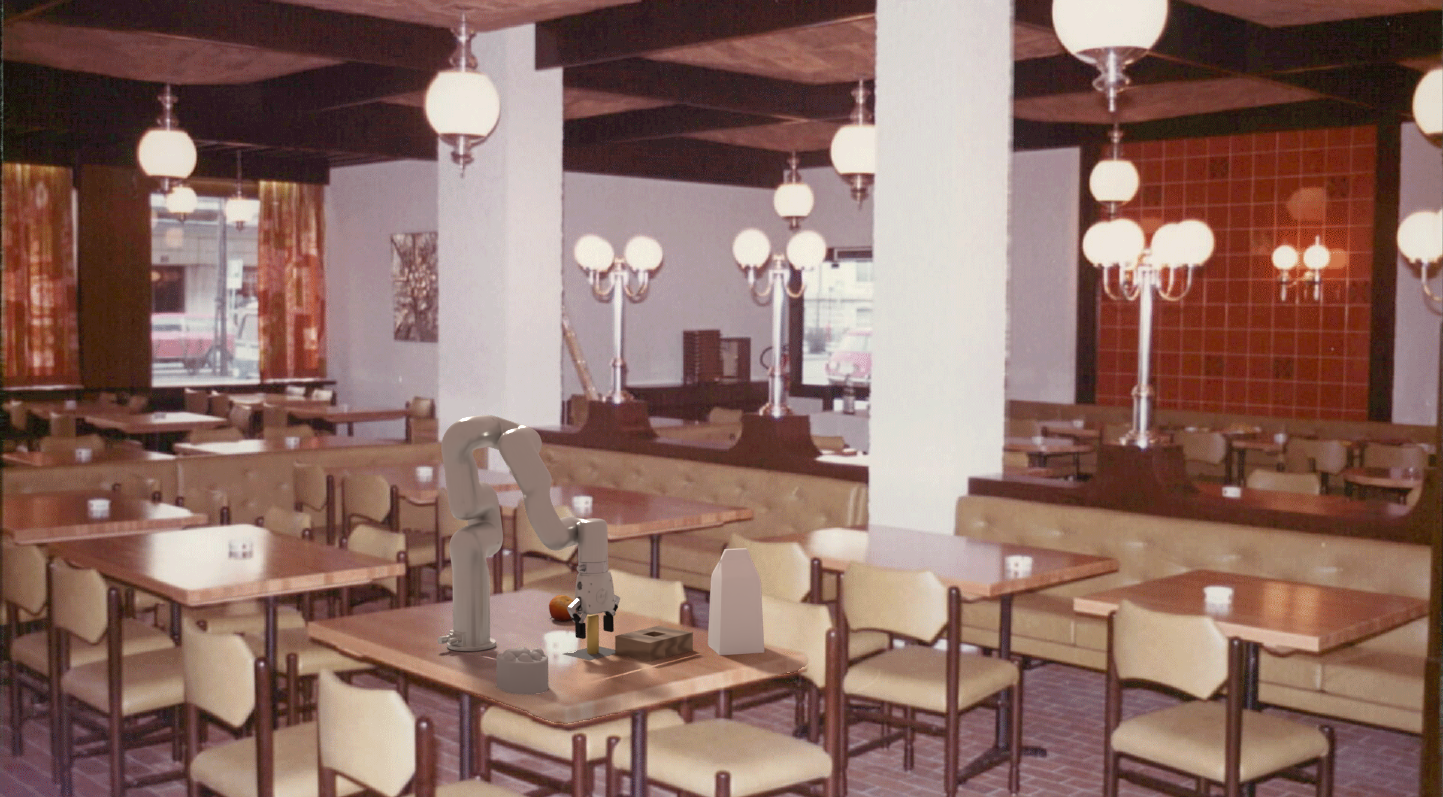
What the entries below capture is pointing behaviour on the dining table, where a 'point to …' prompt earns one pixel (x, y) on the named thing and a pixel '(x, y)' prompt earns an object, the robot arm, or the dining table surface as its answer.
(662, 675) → the dining table surface
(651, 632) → the hole block
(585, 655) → the mat
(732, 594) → the milk
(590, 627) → the peg
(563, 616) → the fruit
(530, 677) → the lumpy-topped squat cylinder
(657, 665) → the dining table surface
